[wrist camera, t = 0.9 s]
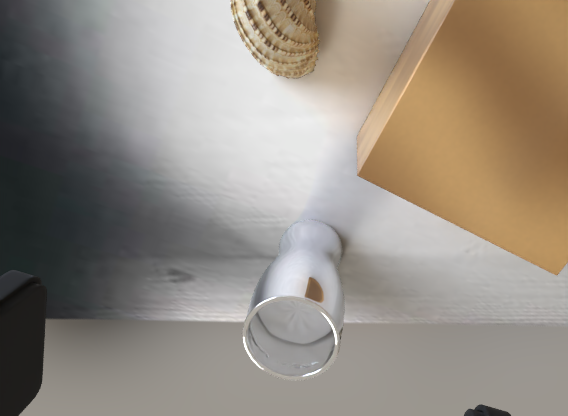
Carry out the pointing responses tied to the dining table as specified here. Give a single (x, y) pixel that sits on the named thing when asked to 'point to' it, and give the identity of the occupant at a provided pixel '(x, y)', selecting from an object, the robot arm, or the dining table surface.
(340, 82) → the dining table surface
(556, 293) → the dining table surface
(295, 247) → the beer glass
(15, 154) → the dining table surface
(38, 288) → the robot arm
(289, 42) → the seashell
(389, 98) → the chest
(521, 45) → the lid
